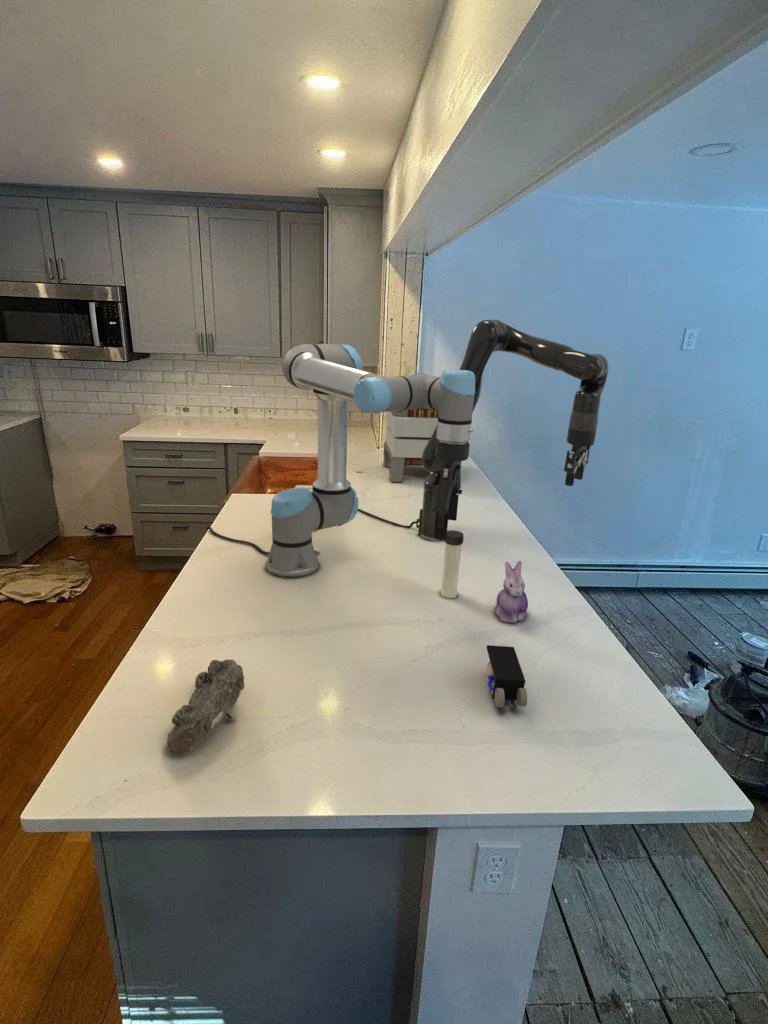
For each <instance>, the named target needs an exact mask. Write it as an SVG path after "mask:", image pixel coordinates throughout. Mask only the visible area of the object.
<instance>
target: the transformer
mask: <svg viewBox="0 0 768 1024" xmlns="http://www.w3.org/2000/svg"><path fill="white" fill-rule="evenodd" d="M385 414H386V415H385V423H386V428H385V438H384V442H383V466H384V467H388V468H389V475H388V476H389V477H388V478H389V480H390V482H391V483H402V482H403V475H404V469H405V466H406V467H407V466H411V467H412V466H413V467H415V466H416V467H417V466H418V467H424V466H423V464H422V454H423V451H424V449H425V447H426V445H427V444H428V442H429V440H430V438H431V436H432V434H433V432H434V430H435V428H436V426H437V423H438V411H436V410H432V409H426V408H419V409H409V410H397V411H388V412H385ZM462 462H463V461H461V463H462Z"/></svg>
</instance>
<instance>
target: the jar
mask: <svg viewBox="0 0 768 1024" xmlns="http://www.w3.org/2000/svg"><path fill="white" fill-rule="evenodd" d="M461 552H462V544H461V545H449V544H447V543H445V545H444V555H443V556H444V558H443V568H442V580H441V591H440V594H441V596H442V597H444V598H445V599H446V598H447V599H455V598H456V597H457V596H458V595H457V594H458V586H459V585H458V584H459V573H460V562H461V555H462V553H461Z"/></svg>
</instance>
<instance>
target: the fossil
mask: <svg viewBox="0 0 768 1024" xmlns="http://www.w3.org/2000/svg"><path fill="white" fill-rule="evenodd" d="M243 670H244V669H243V667H242V665H240V664H237V662H236V661H235V660H234V659H232V658H231V659H227V658H226V659H224V660H223V661H222V660H217V659H212V660H211V661H210V663H209V665H208V666H207V671H201V672H199V673H198V674H197V675H196V676H195V680H194V684H195V685H194V687H195V689H194V690H193V693H192V694H191V697H190V698H189V700H188V704H184V705H182V706H181V707H180V709H177V710H176V711H175V713H174V715H173V716H172V718H171V723H172V724H173V727H172V730H171V731H170V732H168V734H167V738H166V741H167V742H166V745H167V749H168V750H169V751H173V752H174V753H176V754H178V753H182V752H188V751H189V752H192V751H193V750H195V748H196V747H197V746H199V744H200V743H201V742H203V741H204V740H205V739H206V738H207V737H208V736H209V735H210V734H211V733H212V732H214V730H215V729H217V727H218V726H219V724H220V722H221V721H222V720H223V719H224V718H225V716H226V717H227V719H229V720H233V717H232V715H230V714H229V710H230V709H231V708H234V706H235V704H236V703H237V702H238V699H239V697H240V695H241V693H242V691H243V690H245V689H244V688H245V675H244V671H243Z"/></svg>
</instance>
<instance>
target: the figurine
mask: <svg viewBox="0 0 768 1024" xmlns="http://www.w3.org/2000/svg"><path fill="white" fill-rule="evenodd" d="M522 566H523V563H522V561H521V560H518V561H517V562H516V564H515V565H514V568H513V567H512V566H511V564H510V562H508V561H506V562H505V563H504V569H505V570H504V571H505V579H504V580H503V582H502V583H503V585H502V586H503V587H502V589H501V590H500V591H499V592H498V594H497V596H496V606H495V613H496V614H495V615H497V616H498V617H499V620H501V621H502V622H505V623H511V624H512V623H514V624H515V623H517V622H520V621H523V619H524V618H525V617H526V614H527V610H528V607H529V600H528V597H527V594H526V592H525V588H526V584H525V580H524V578H523V576H522Z"/></svg>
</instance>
